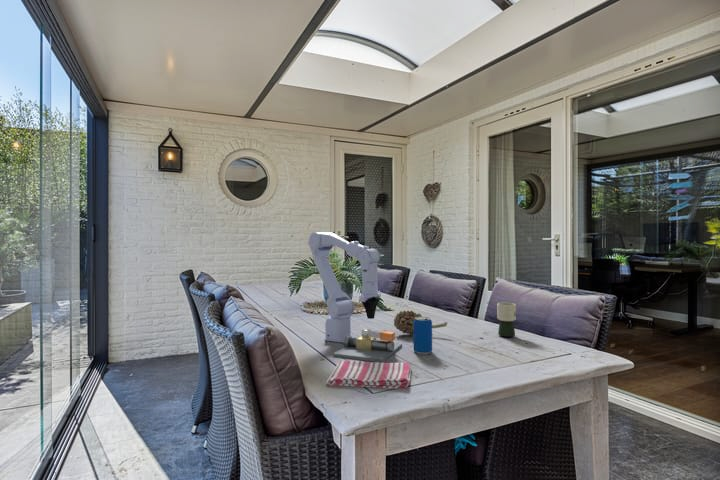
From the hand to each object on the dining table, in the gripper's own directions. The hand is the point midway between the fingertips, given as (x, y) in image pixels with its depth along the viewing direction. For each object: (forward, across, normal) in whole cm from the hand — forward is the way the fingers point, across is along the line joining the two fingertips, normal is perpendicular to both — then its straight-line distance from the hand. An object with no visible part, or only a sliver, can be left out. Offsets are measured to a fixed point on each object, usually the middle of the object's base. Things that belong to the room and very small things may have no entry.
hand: (370, 318), depth 153 cm
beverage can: (+11, +1, -20) cm, 22 cm away
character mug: (+11, +35, -43) cm, 57 cm away
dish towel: (+12, -28, -13) cm, 33 cm away
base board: (+10, -6, -2) cm, 12 cm away
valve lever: (+5, -6, -5) cm, 10 cm away
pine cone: (+11, +23, -12) cm, 28 cm away
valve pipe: (+10, -6, -2) cm, 12 cm away
